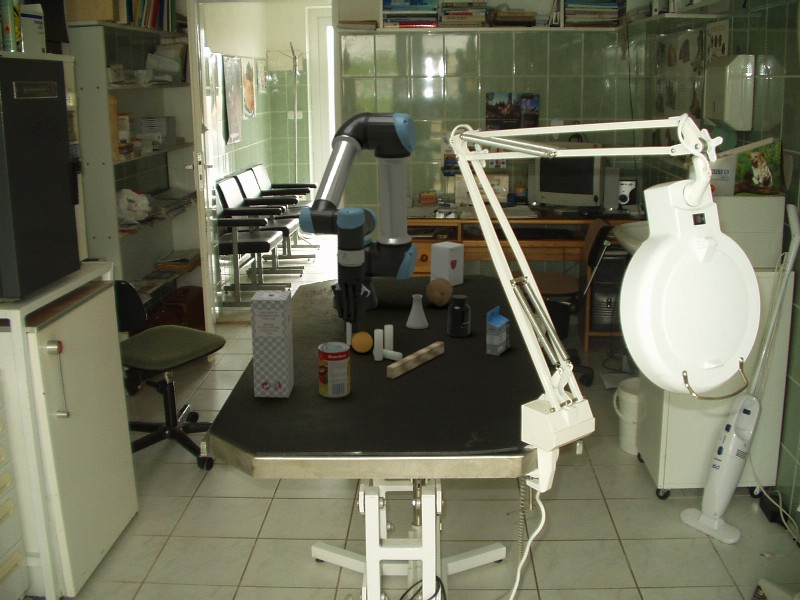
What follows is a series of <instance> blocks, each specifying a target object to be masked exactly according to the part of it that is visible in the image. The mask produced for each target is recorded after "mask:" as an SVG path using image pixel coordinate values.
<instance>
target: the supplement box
mask: <svg viewBox="0 0 800 600" xmlns="http://www.w3.org/2000/svg"><path fill="white" fill-rule="evenodd" d="M430 248H431V249H430V251H431V253H430V282H431V281H432V280H434V279H436V278H443V279H446V280H448V281H449V283H450V284H451V285H452V287H454V286H457V285H461V284H463V283H464V262H465V260H464V257H465V256H464V255H465V254H464V253H465V244H463V243H457V242H453V241H442V242H437V243H433V244H431V247H430Z"/></svg>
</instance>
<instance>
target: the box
mask: <svg viewBox="0 0 800 600" xmlns="http://www.w3.org/2000/svg"><path fill="white" fill-rule="evenodd" d="M292 310H293V308H292V291H291V290H282V291H281V290H256V292H255V293H254V294H253V296H252V297H251V298H250V319H251V320H250V323H251V343H252V366H253V367H252V368H253V371H252V372H253V391H254V397H255V398H289V397H290V395H291V393H292V390H293V388H294V385H295V382H294V381H295V380H294V379H295V378H294V377H295V375H294V351H293V350H294V349H293V347H294V346H293V313H292V312H293V311H292Z"/></svg>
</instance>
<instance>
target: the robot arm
mask: <svg viewBox="0 0 800 600" xmlns="http://www.w3.org/2000/svg"><path fill="white" fill-rule="evenodd" d="M417 140H418V139H417V128H416V125H415V122H414V118H413V117H412V116H411V115H410V114H408V113H401V112H369V111H367V112H366V111H365V112H359V113H356V114H354V115H352V116H351V117H349V118H348V119H347V120H346V121H344V122H343V124H341V126H340V127H339V128H338V129H337V131H336V132H335V134H334V135H333V138H332V141H331V149H332V150H331V154H330V157H329V159H328V161H327V163H326V167H325V170H324V172H323V175H322V178H321V181H320V183H319V185H318V188H317V191H316V194H315V197H314V200H313V203H312V205H311V207H310V206H308V207H303V208H302V209H301V210H300V212H299V216H298V225H299V228H300V230H301V231H302V233H306V234H314V235H318V234H319V235H336V237H337V253H336V259H337V261H336V262H337V283H334V284H331V286H330V289H331V291H332V293H333V298H332V306H333V308H334V309H336V310H337V316H338V318H339V319H342V320H343V322H344V332H346V344H348V345H349V346H352V338H353V336H354V335H355V334H356V333H358V332H359V323H360V322H361V321H364V320H365V317H366V312H367V311H369V310H370V311H371V310H373V309H376V308H377V307H378V302H379V301H378V297H377V293H376V291H375V287H374V285H373V278H380V279H381V278H382V279H393V280H407V279H410V278H411V277H412V276H413V274H414V271H415V269H416V266H417V260H418V253H419V251H418V250H419V249H418V246H417V244H415V243H413V238H412V237H411V236H410V235H409V234H408V214H407V213H408V210H407V209H408V208H407V207H408V205H407V204H408V203H407V202H408V200H407V198H408V196H407V193H408V192H407V191H408V190H407V161H408V160H409V159H410V158H411V155H412V152H414V151H415V150H416V149H417ZM365 150H367V151H368V150H369V151H373V152H374V158H375V159H376V160H377V162H378V164H379V165H378V166H379V198H380V200H379V204H380V205H379V206H380V207H379V208H380V235H379V236H377V238H376V242H374V241H373V240H374V239H373V238H372V237H371V236H369V235H370V234H372V233H373V232H374V231H375V230H376V228H377V226H378V223H379V220H378V216H377V214H376V213H375V211H373V209H371V208H366V207H361V208H360V207H354V206H353V207H342V208H339V206H340V203H341V201H342V197H343V194H344V192H345V189H346V186H347V183H348V181H349V178H350V176H351V175H350V174H351V172H352V170H353V166H354V164H355V161H356V158H358V157H359V156H360V155H361V154H362V151H365Z"/></svg>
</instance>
